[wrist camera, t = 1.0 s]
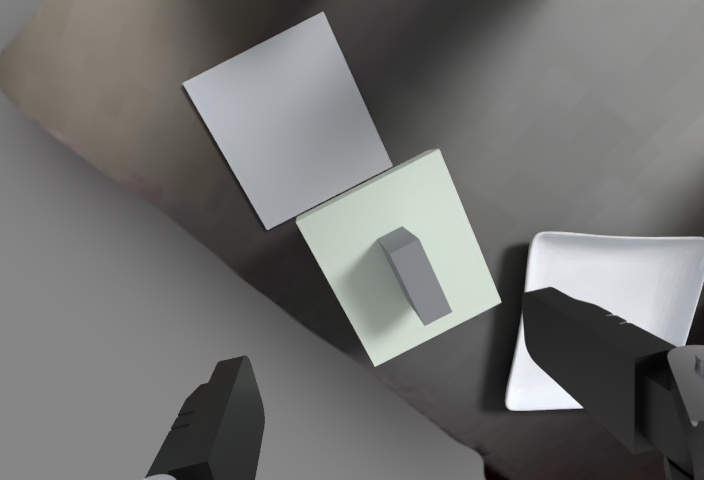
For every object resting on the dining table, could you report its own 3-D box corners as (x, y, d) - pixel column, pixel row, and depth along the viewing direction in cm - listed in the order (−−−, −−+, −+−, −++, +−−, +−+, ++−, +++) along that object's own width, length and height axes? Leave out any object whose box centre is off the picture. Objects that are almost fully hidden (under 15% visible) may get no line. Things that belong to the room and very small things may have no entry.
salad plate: (490, 395, 44) (505, 415, 40) (516, 225, 39) (535, 232, 36) (644, 390, 46) (670, 408, 43) (685, 230, 41) (718, 236, 38)
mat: (323, 13, 32) (323, 11, 31) (391, 166, 36) (392, 166, 35) (183, 84, 32) (182, 83, 31) (267, 229, 36) (267, 230, 35)
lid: (428, 149, 29) (463, 147, 22) (488, 292, 33) (533, 326, 26) (296, 217, 29) (292, 234, 23) (370, 352, 33) (385, 401, 26)
